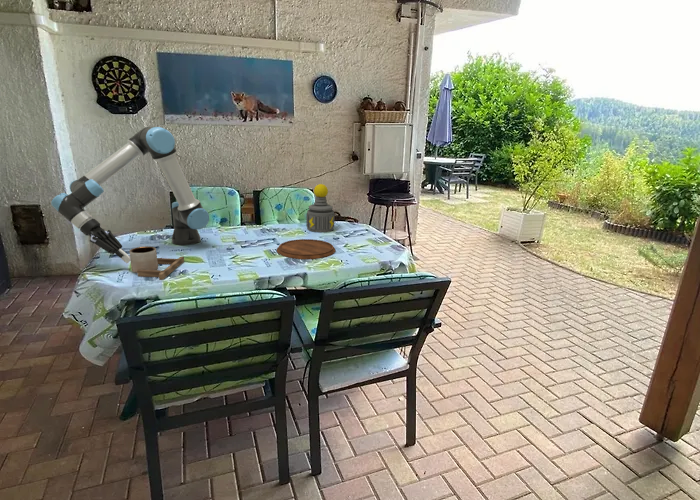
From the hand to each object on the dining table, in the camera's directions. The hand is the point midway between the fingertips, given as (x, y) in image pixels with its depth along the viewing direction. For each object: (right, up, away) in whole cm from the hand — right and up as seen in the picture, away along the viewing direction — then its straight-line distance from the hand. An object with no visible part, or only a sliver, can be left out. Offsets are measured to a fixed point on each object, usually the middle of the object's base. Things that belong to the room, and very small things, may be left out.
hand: (129, 261), depth 180 cm
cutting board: (+76, +4, +39) cm, 85 cm away
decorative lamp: (+80, +19, +85) cm, 118 cm away
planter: (+7, -4, +1) cm, 8 cm away
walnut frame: (+13, -4, +2) cm, 14 cm away
